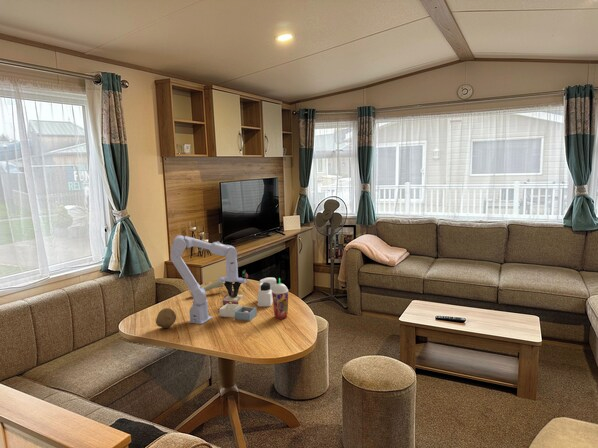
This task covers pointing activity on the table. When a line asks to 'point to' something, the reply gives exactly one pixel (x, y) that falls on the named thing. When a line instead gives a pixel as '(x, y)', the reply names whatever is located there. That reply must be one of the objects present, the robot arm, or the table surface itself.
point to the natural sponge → (165, 318)
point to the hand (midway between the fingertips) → (233, 295)
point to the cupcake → (228, 301)
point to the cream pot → (229, 310)
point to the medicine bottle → (264, 295)
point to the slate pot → (243, 315)
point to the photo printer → (269, 280)
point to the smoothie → (280, 300)
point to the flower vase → (217, 284)
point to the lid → (232, 298)
